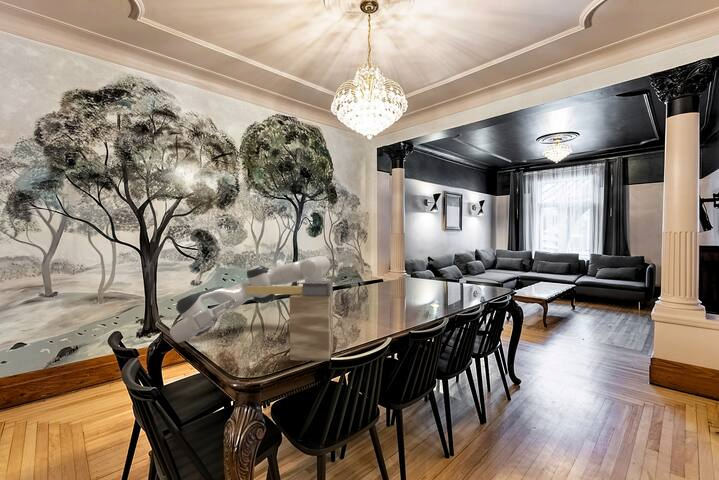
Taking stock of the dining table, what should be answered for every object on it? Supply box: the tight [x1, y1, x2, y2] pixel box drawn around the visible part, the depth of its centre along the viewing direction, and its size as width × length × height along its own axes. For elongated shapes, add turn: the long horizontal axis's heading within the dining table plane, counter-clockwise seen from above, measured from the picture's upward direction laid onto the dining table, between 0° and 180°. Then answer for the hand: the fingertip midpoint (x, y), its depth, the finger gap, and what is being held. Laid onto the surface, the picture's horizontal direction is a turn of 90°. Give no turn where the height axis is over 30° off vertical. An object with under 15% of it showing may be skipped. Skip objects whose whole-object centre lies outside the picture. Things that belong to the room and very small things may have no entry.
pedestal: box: [289, 293, 334, 362], centre depth 136 cm, size 12×16×26 cm
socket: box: [302, 280, 334, 296], centre depth 136 cm, size 8×11×5 cm
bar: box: [246, 285, 303, 295], centre depth 137 cm, size 3×24×3 cm, turn 86°
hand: (230, 303), depth 138 cm, fingers open, 8 cm apart
